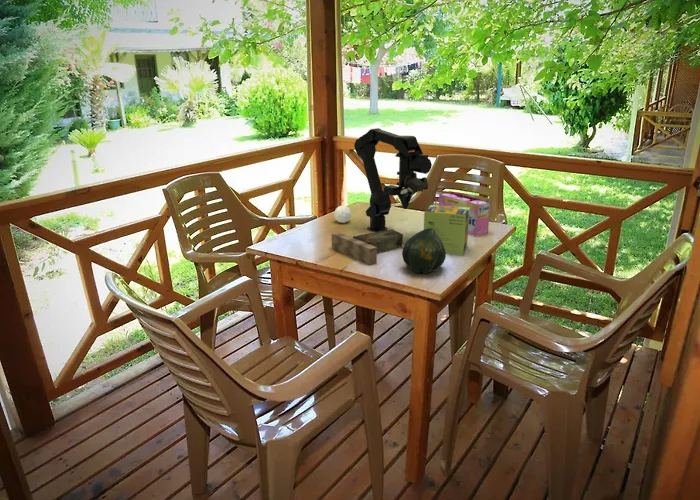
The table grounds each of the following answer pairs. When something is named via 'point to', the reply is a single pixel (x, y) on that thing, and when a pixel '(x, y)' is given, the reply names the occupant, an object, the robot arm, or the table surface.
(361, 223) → the table surface
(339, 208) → the ball
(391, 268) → the table surface
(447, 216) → the protein box
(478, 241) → the table surface
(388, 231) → the printed cardboard box
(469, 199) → the gum box
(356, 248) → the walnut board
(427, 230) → the squash
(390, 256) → the table surface
